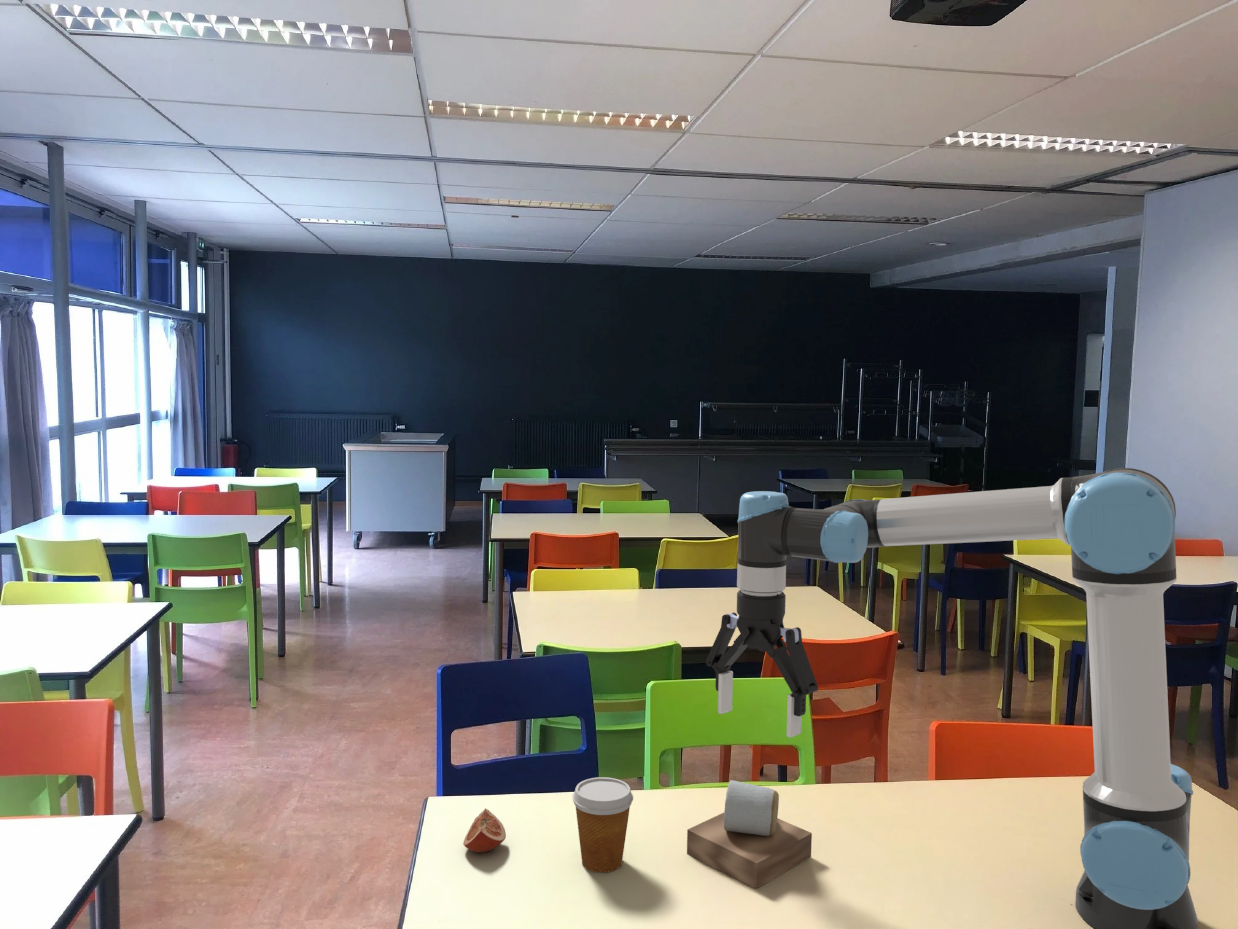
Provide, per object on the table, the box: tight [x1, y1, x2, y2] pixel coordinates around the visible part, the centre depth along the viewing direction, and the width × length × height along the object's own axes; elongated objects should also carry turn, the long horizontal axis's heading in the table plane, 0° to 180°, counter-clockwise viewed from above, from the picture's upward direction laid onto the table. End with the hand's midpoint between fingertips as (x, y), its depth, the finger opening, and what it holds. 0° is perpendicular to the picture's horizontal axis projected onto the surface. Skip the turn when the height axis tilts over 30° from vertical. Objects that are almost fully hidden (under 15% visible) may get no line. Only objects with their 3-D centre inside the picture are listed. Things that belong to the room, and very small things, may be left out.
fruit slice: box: [463, 808, 507, 853], centre depth 149 cm, size 8×7×5 cm
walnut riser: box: [686, 812, 813, 890], centre depth 148 cm, size 14×14×4 cm
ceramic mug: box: [723, 779, 780, 836], centre depth 149 cm, size 11×8×8 cm
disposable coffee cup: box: [571, 776, 634, 874], centre depth 144 cm, size 10×10×12 cm
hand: (758, 723), depth 146 cm, fingers open, 13 cm apart
